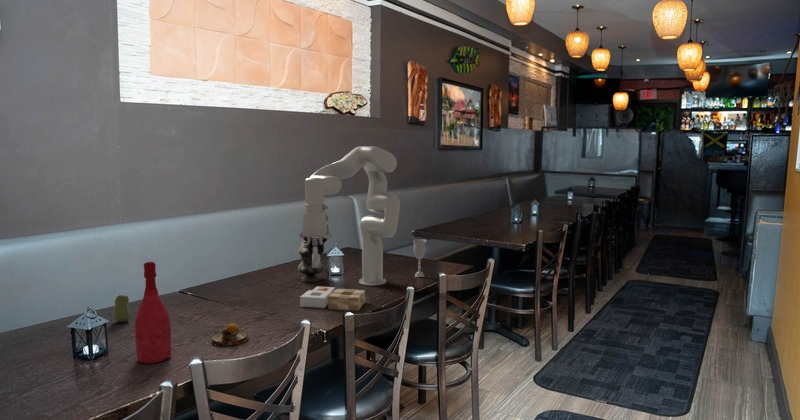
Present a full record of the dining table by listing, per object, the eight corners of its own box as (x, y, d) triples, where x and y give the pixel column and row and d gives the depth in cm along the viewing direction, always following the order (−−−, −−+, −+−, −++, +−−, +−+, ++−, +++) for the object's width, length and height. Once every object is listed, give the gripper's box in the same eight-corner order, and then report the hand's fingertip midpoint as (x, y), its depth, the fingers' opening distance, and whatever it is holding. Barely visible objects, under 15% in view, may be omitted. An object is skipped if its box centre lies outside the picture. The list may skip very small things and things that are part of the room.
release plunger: (320, 293, 238) (320, 287, 238) (328, 294, 238) (328, 287, 237) (317, 296, 235) (317, 289, 234) (325, 296, 234) (325, 289, 234)
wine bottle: (143, 352, 175) (138, 258, 171) (176, 352, 175) (171, 258, 172) (131, 365, 165) (125, 266, 161) (165, 364, 166) (160, 265, 162)
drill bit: (313, 266, 228) (313, 237, 226) (321, 266, 227) (321, 237, 226) (311, 267, 225) (310, 238, 223) (319, 268, 224) (318, 238, 222)
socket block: (314, 294, 241) (314, 285, 241) (337, 295, 239) (337, 286, 239) (300, 306, 224) (300, 296, 223) (324, 307, 222) (324, 298, 221)
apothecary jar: (328, 280, 265) (327, 243, 262) (304, 284, 258) (304, 245, 256) (316, 275, 275) (316, 239, 272) (294, 278, 268) (293, 241, 266)
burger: (234, 332, 194) (234, 311, 194) (255, 340, 187) (255, 318, 186) (203, 341, 185) (203, 319, 184) (224, 350, 178) (223, 327, 177)
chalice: (425, 279, 268) (425, 242, 266) (411, 278, 269) (411, 241, 267) (427, 275, 275) (427, 239, 273) (413, 274, 277) (414, 238, 274)
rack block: (337, 300, 232) (337, 288, 232) (365, 301, 230) (365, 290, 230) (328, 308, 220) (328, 296, 220) (358, 310, 218) (357, 298, 218)
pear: (111, 322, 203) (109, 295, 202) (124, 318, 208) (122, 291, 206) (120, 325, 200) (119, 297, 199) (134, 320, 205) (132, 294, 204)
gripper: (337, 207, 225) (338, 252, 227) (298, 206, 228) (299, 251, 230) (332, 210, 218) (333, 256, 220) (292, 209, 220) (293, 254, 223)
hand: (316, 253), depth 225 cm, fingers closed on drill bit, 3 cm apart
